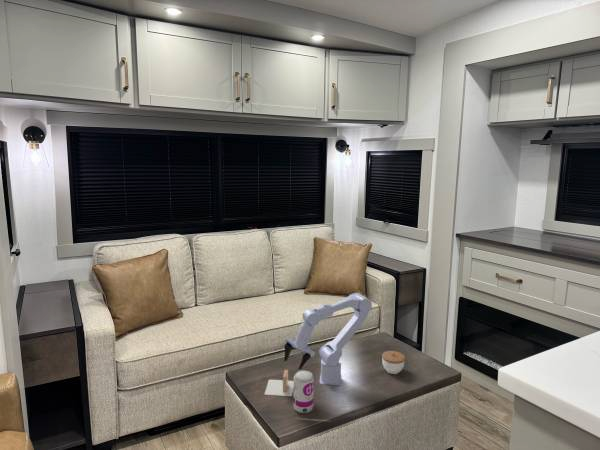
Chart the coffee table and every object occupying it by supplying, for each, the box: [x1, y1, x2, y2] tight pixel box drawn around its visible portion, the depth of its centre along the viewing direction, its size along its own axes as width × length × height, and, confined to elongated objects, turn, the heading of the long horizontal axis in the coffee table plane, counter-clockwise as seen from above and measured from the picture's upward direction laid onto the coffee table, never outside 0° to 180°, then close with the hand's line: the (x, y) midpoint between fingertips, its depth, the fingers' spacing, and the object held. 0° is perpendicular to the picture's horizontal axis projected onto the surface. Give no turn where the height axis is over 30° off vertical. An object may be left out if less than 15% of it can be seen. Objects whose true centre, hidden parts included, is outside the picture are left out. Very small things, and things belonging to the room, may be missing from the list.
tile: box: [282, 369, 289, 392], centre depth 181 cm, size 2×6×7 cm, turn 175°
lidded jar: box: [381, 350, 406, 375], centre depth 198 cm, size 11×11×9 cm
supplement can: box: [292, 369, 315, 414], centre depth 167 cm, size 8×8×15 cm
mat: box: [264, 379, 294, 397], centre depth 182 cm, size 12×12×1 cm
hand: (292, 364), depth 181 cm, fingers open, 7 cm apart
